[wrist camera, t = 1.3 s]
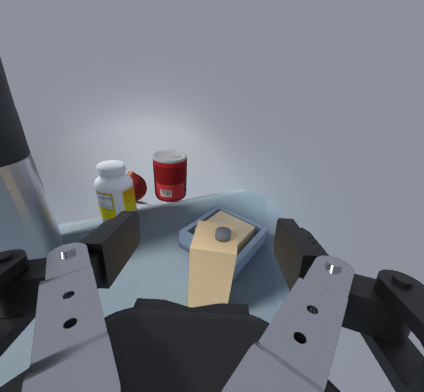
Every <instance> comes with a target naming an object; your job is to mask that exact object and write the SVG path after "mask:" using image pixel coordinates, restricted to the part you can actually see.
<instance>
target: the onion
mask: <svg viewBox="0 0 424 392" xmlns="http://www.w3.org/2000/svg"><path fill="white" fill-rule="evenodd" d="M128 173H129V176H130V177H131V178H132V180H133V186H134V193H135V201H138V200H139V199H141V198H142V197H143V196H144V195H145V193H146V191H147V186H146V182H145V180H144V179H143V178H142V177H141V176H139V175H137V174H136V173H134V172H133V171H129V172H128Z"/></svg>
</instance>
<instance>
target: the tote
mask: <svg viewBox="0 0 424 392" xmlns="http://www.w3.org/2000/svg"><path fill="white" fill-rule="evenodd" d="M220 210H221V211H223V212H225V213H227V214H229V215H231V216H233V217H235V218H237V219H240V220H242V221H244V222H246V223H248V224H250V225H252V226H254V227H255V229H254V234H253V238H252V240H251V241H250V242H249V243H248V244H247V245H246V246H245V247H244V248H243V250H242V251H241V252H240V253H239V254H238V255H237V258H236V263H235V268H234V274H233V279H232V281H234V280H235V278H236V277H237V276H238V275H239V274H240V272H241V271H242V270H243V269H244V267H245V266H246V265H247V264H248V263H249V261H250V260H251V259H252V258H253V256H254V255H255V254H256V253H257V252H258V250H259V249H260V248H261V247H262V245H263V244H264V243H265V241H266V237H267V233H268V229H269V228H266V227H264V226H262V225H260V224H258V223H256V222H253V221H251V220H249V219H247V218H245V217H243V216H241V215H238V214H236V213H234V212H232V211H230V210H228V209H225V208H223V207H221V206H219V205H217V206H216V207H214V208H213V209H211V210H210V211H208V212H207V213H205V214H204V215H202V216H201V217H199V218H198V219H196V220H195V221H193V222H192V223H190V224H189V225H187V226H186V227H184V228H183V229H181V230H180V231H179V246H180V247H182V248H183V249H185V250H186V251H188V252H189V253H190V246H191V243H192V239H193V236H194V233H195V228H196V227H197V223H198V220H200V221H206V220H208V219H209V218H210V217H212V216H213V215H215V214H216V213H218V212H219V211H220Z"/></svg>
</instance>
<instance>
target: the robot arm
mask: <svg viewBox="0 0 424 392" xmlns="http://www.w3.org/2000/svg"><path fill="white" fill-rule="evenodd" d="M139 241H140V231H139V220H138V213H137V212H136V211H121V212H120V213H119V214H118V215H117V216H115V217H114V218H112V219H110V220H108V221H105V222H104V223H102V224H101V225H100V226H99V227H98V228H96V229H95V230H94V231H93V232H92V233H90V234H89V235H88V236H87V237H86V238H84V239H83V240H82V241H81V242H80V243H69V244H65V245H64V242H63V239H62V236H61V234H60V231H59V228H58V225H57V222H56V220H55V217H54V214H53V212H52V209H51V206H50V203H49V201H48V199H47V195H46V192H45V190H44V187H43V184H42V182H41V179H40V176H39V173H38V171H37V168H36V166H35V163H34V160H33V158H32V155H31V153H30V150H29V147H28V144H27V141H26V138H25V135H24V132H23V128H22V125H21V122H20V119H19V116H18V113H17V110H16V108H15V105H14V102H13V98H12V95H11V92H10V89H9V85H8V82H7V79H6V75H5V72H4V68H3V65H2V61H1V58H0V356H1V355H2V354H3V353H4V352H5V351H6V349H7V348H8V347H9V346H10V345H11V344H12V343H13V342H14V340H15V339H16V338H17V337H18V336H19V335H20V334H21V333H22V331H23V330H24V329H25V328H26V327H27V326H28V325H29V324H30V322H31V321H32V320H33V319H34V318H35V326H34V335H33V344H32V353H31V362H30V367H29V368H28V369H27V370H25V371H24V372H22V373H21V374H19V375H18V376H16V377H15V378H13V379H12V380H10V381H9V382H7V383H6V384H5V385H3V386H2V387H0V392H340V391H339V390H338V389H337V388H336V387H335V386H334V385H333V384H332V383H331V382H330V381H329V380H328V376H329V372H330V368H331V363H332V360H333V356H334V353H335V349H336V345H337V341H338V337H339V333H340V329H341V326H342V327H345V328H348V329H351V330H354V331H357V332H360V333H361V335H362V336H363V338H364V340H365V342H366V343H367V345H368V346H369V348H370V350H371V351H372V353H373V355H374V356H375V358H376V360H377V361H378V363H379V365H380V366H381V368H382V370H383V371H384V373H385V375H386V376H387V378H388V380H389V381H390V383H391V385H392V386H393V388H394V390H395V391H396V392H424V357H423V355H422V354H421V353H420V351H419V350H418V349H417V348H416V347H415V345H414V344H413V343H412V342H411V341H410V339H409V338H408V336H409V334H410V331H412V332H413V333H414V334H415V336H416V337H417V338H418V339H419V340H420V342H421V344H422V346H423V348H424V285H423V284H422V283H420V282H419V281H418V280H416V279H414V278H412V277H410V276H408V275H406V274H404V273H401V272H398V271H393V270H381V271H379V273H378V276H377V278H376V279H373V278H369V277H365V276H361V275H357V274H354V270H353V268H352V267H351V266H350V265H349V264H347V263H346V262H344V261H343V260H341V259H338V258H335V257H332V256H329V255H328V254H327V253H326V251H325V250H324V249H323V248H322V247H321V245H320V244H318V242H317V240H316V239H314V237H313V236H312V234H311V233H310V232H308V231H307V230H305V229H303V228H299V226H298V225H297V224H296V222H295V221H294V220H293V219H285V218H279V219H278V221H277V226H276V232H275V239H274V253H275V256H276V258H277V261H278V263H279V265H280V268H281V270H282V273H283V275H284V277H285V280H286V282H287V285H288V287H289V290H290V292H289V294H288V296H287V297H286V299H285V300H284V302H283V304H282V305H281V307H280V308H279V310H278V311H277V313H276V315H275V316H274V318H273V319H272V321H271V323H270V324H269V323H267V322H266V321H264V320H262V319H260V318H258V317H256V316H253V315H250V314H249V310H248V305H244V304H227V303H218V304H212V305H205V306H199V307H187V306H184V305H180V304H177V303H173V302H170V301H167V300H159V299H142V298H137V301H136V303H135V305H134V307H133V308H128V309H124V310H121V311H118V312H115V313H113V314H111V315H109V316H107V317H105V318H104V315H103V311H102V307H101V302H100V298H99V294H98V290H97V289H98V288H107V289H109V288H110V286H111V285H112V283H113V282H114V281H115V279H116V278H117V276H118V275H119V273H120V272H121V270H122V269H123V267H124V266H125V264H126V263H127V261H128V260H129V259H130V257H131V256H132V254H133V253H134V251H135V250H136V248H137V247H138V245H139Z"/></svg>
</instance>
